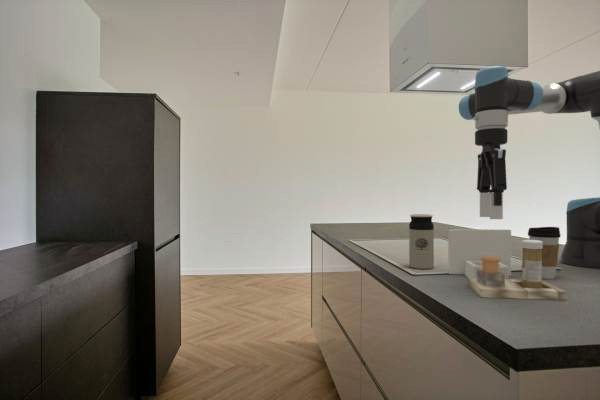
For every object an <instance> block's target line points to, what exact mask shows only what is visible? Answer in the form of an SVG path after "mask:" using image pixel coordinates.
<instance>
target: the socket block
mask: <svg viewBox="0 0 600 400" xmlns="http://www.w3.org/2000/svg"><path fill="white" fill-rule="evenodd" d="M467 286H468V287H469V288H470V289H471V290H472V291H473V292H475V293H476V295H478V296H479V297H480V298H486V299H487V298H491V299H517V300H518V299H522V300H523V299H525V300H551V301H554V300H556V301H558V300H559V301H566V297H567V296H566V295H567V294H566V291H565V290H563V289H561V288H559V287H557V286H555V285H553V284H550V283H549V282H546V281H544V280H543V279H542V282H541V288H523V287H522V279H517V278H516V279H515V278H514V279H513V278H509V279H505V275H504V274H503V273H501V272H499V274H485V273H483V272H482V270H477V279H476V278H468V277H467Z"/></svg>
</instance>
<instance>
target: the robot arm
mask: <svg viewBox="0 0 600 400" xmlns="http://www.w3.org/2000/svg"><path fill="white" fill-rule="evenodd" d="M473 88H474V93H469V94H468V95H465V96H463V97H462V98H461V99H460V101H459V102H458V103H459V104H458V111H459V112H458V113H459V115H460V116H461V117H462V118H463V119H464V120H466V121H472V120H473V121H475V122H474V124H475V125H474V129H475V132H474V144H475V146H478V147H480V146H481V147H482V151H481V152H480V153H479V154H477V182H476V190H477V191H478V192H479V218H489V219H490V220H503V219H504V218H503V217H504V216H503V215H504V213H503V211H504V209H503V207H504V206H503V205H504V203H503V202H504V201H503V199H504V198H503V197H504V191H506V190H507V189H508V187H507V185H508V183H507V168H506V167H507V166H506V155H507V154H506V153H507V150H506V149H501V146H502V145H506V144H507V143H508V129H507V128H508V124H509V117H508V116H509V115H520V114H530V113H537V112H538V113H540V112H542V113H544V114H547V115H549V114H551V115H552V114H580V113H587V112H588V113H589V112H590V116H591V119H593V120H595V121H597V123H598V126H599V127H598V128H599V129H600V70H597V71H594V72H590V73H586V74H583V75H578V76H575V77H573V78H569V79H566V80H563V81H560V82H555V83H548V84H546V85H544V86H543V87H542V86H541V85H540V84H539V83H537V82H533V81H530V80H525V79H524V80H523V79H516V78H514V79H513V78H511V77H509V72H508V69H507V68H506V66H503V65H494V66H487V67H484V68H481V69H479V70H478V71H477V72H476V74H475V82H474V87H473ZM566 205H567V206H566V211H565V213H566V242H565V244H564V246H563V249H562V251H561V255H560V263H563V264H566V265H569V266H570V265H571V266H575V267H584V268H597V269H599V268H600V197H599V196H598V197H589V198H578V199H572V200H569V201H568V202H567V204H566Z"/></svg>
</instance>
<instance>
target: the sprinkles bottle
mask: <svg viewBox="0 0 600 400" xmlns="http://www.w3.org/2000/svg"><path fill="white" fill-rule="evenodd" d="M521 248H522V249H521V250H522V262H521V263H522V264H521V280H522V287H523V288H541V282H542V280H543V278H542V248H543V242H542V241H539V240H529V239H523V240H521Z"/></svg>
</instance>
